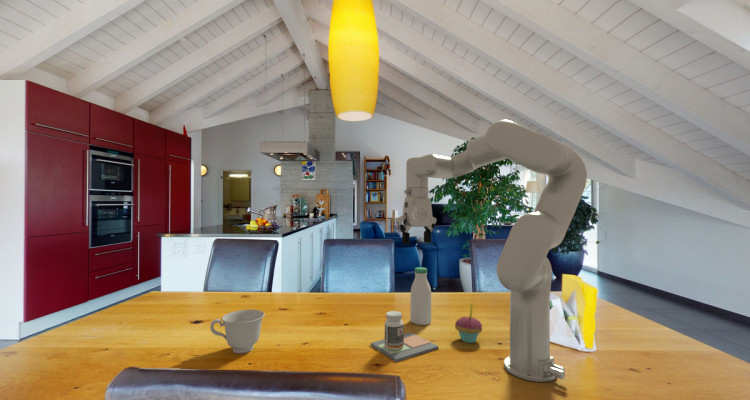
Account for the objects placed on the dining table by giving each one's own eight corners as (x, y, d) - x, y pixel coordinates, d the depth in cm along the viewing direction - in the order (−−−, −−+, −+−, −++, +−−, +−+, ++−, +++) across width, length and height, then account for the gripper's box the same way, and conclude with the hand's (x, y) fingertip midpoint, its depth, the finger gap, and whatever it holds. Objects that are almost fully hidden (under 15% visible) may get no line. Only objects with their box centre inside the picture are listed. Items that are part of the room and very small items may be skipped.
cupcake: (464, 332, 112) (463, 297, 112) (487, 340, 106) (487, 302, 106) (450, 339, 106) (450, 302, 106) (474, 348, 100) (474, 308, 100)
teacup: (211, 346, 100) (211, 313, 100) (262, 338, 106) (263, 307, 106) (208, 363, 89) (209, 326, 89) (266, 354, 95) (266, 319, 95)
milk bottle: (432, 325, 118) (432, 270, 119) (411, 325, 119) (411, 270, 119) (429, 318, 126) (429, 266, 127) (409, 318, 126) (409, 266, 127)
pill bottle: (407, 346, 98) (407, 313, 98) (395, 352, 94) (395, 318, 94) (392, 341, 102) (393, 309, 102) (380, 347, 98) (380, 313, 98)
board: (438, 348, 99) (438, 345, 99) (396, 362, 90) (396, 358, 90) (410, 334, 110) (410, 331, 110) (370, 345, 101) (370, 342, 101)
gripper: (404, 192, 105) (403, 246, 105) (443, 194, 115) (443, 243, 114) (390, 193, 112) (390, 243, 111) (428, 194, 121) (428, 241, 121)
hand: (416, 243), depth 113 cm, fingers open, 9 cm apart
